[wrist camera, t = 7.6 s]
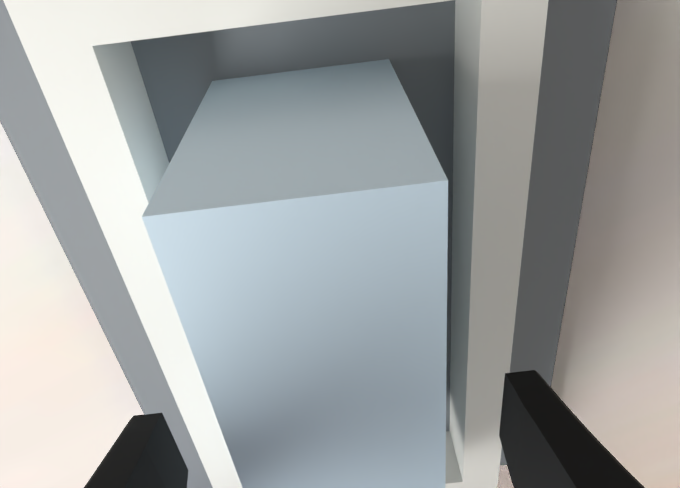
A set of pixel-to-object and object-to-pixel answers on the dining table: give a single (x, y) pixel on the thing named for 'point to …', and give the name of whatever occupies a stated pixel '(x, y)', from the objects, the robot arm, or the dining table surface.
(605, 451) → the robot arm
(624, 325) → the dining table surface
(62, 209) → the cradle jig
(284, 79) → the block
